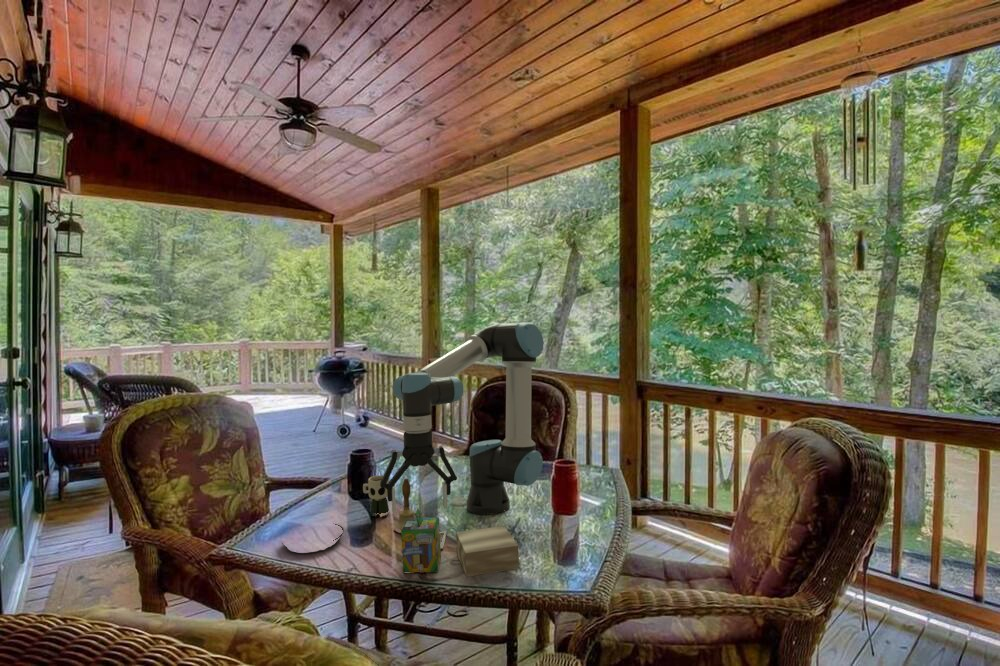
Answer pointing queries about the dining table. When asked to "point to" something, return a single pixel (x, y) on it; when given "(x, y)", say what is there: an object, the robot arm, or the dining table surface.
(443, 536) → the dessert
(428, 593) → the dining table surface
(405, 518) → the hand bell
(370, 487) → the character mug
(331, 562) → the dining table surface
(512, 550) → the birch block
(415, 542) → the chalk box
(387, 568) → the dining table surface
